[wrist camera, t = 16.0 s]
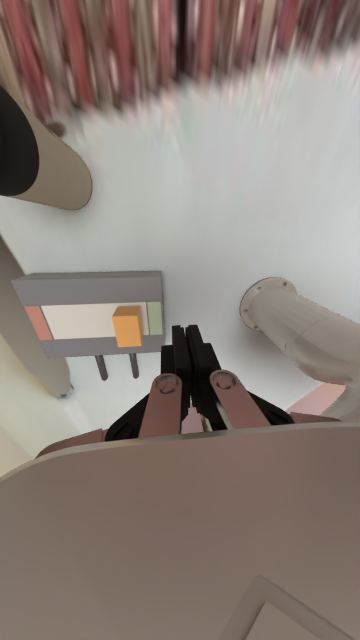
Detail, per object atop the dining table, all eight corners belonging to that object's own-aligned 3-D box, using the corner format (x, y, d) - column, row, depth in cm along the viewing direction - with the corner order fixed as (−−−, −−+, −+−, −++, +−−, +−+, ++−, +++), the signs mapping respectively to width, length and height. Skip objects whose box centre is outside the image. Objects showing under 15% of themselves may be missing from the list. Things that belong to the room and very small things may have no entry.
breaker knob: (140, 305, 31) (137, 315, 27) (143, 333, 34) (141, 346, 30) (117, 306, 31) (111, 316, 27) (123, 334, 33) (118, 347, 30)
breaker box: (161, 270, 34) (160, 277, 29) (166, 373, 47) (166, 389, 42) (31, 273, 32) (10, 280, 27) (74, 379, 45) (64, 396, 40)
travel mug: (77, 221, 29) (-28, 211, 13) (26, 181, 26) (-189, 103, 10) (102, 177, 27) (12, 100, 11) (50, 127, 24) (-183, -83, 8)
